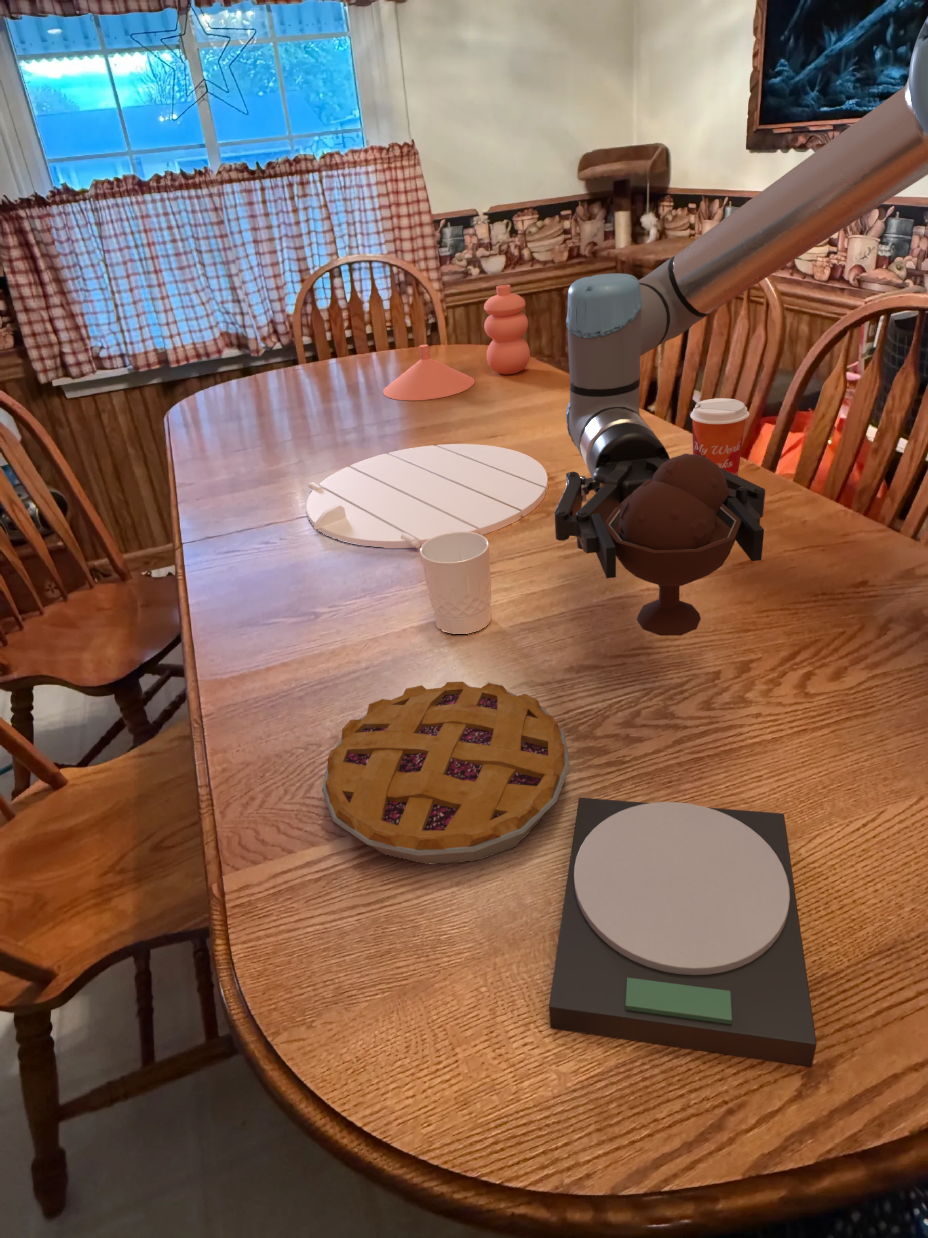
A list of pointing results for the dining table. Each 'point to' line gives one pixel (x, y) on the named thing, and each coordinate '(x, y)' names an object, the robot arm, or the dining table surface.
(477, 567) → the white cup
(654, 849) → the scale
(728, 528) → the ice cream bowl
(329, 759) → the pie
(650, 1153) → the dining table surface
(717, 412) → the paper cup
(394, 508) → the lazy susan
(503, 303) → the ceramic vessels
